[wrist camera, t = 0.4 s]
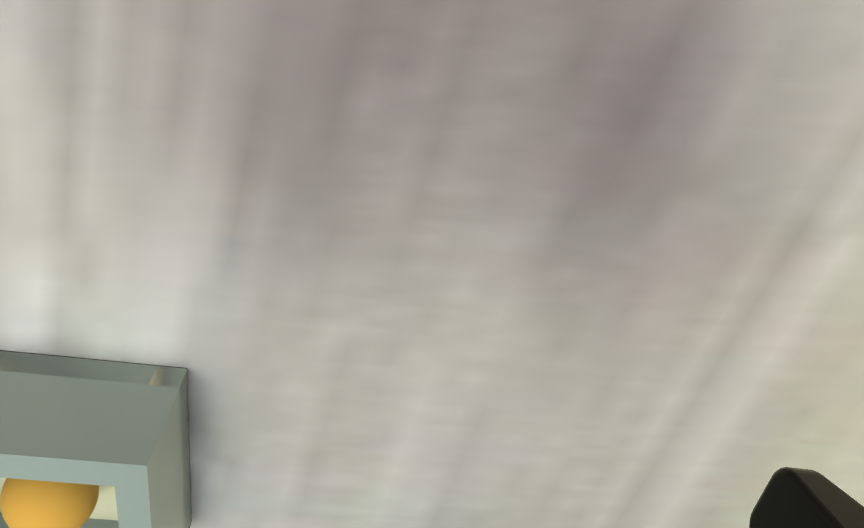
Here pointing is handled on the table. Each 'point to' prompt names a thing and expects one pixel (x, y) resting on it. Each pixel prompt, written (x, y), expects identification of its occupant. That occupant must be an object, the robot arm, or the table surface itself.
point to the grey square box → (99, 434)
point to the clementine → (47, 503)
